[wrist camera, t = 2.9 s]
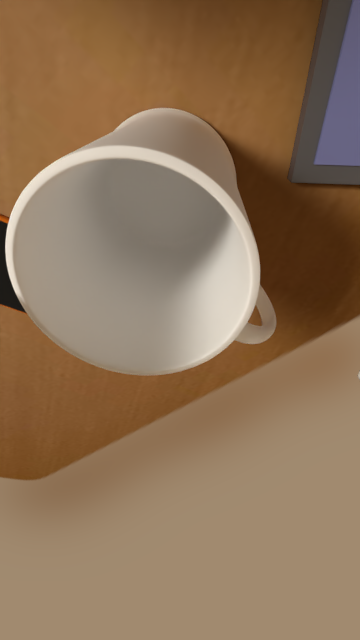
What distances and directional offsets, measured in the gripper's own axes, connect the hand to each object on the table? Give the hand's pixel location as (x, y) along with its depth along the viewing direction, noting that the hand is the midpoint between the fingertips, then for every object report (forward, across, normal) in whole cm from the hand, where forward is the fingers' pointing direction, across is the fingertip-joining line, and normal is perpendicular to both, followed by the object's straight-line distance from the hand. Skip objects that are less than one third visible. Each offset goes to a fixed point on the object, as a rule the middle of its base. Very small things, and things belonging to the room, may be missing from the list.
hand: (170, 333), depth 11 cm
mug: (+13, 0, 0) cm, 13 cm away
